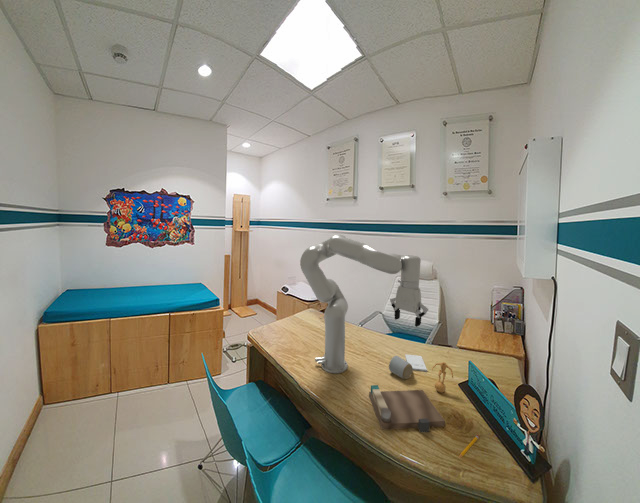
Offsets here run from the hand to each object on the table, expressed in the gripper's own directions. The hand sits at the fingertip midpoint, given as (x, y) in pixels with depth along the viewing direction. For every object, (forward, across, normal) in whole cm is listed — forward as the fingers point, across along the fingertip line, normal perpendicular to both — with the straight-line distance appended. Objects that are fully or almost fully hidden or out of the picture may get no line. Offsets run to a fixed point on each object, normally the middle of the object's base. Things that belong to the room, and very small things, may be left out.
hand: (407, 322), depth 109 cm
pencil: (+26, +32, -17) cm, 45 cm away
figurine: (+26, +15, +4) cm, 30 cm away
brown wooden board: (+26, +11, -18) cm, 34 cm away
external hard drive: (+26, -2, +15) cm, 30 cm away
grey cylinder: (+26, -2, +2) cm, 26 cm away
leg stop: (+26, +20, -22) cm, 39 cm away
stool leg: (+24, +5, -26) cm, 35 cm away
